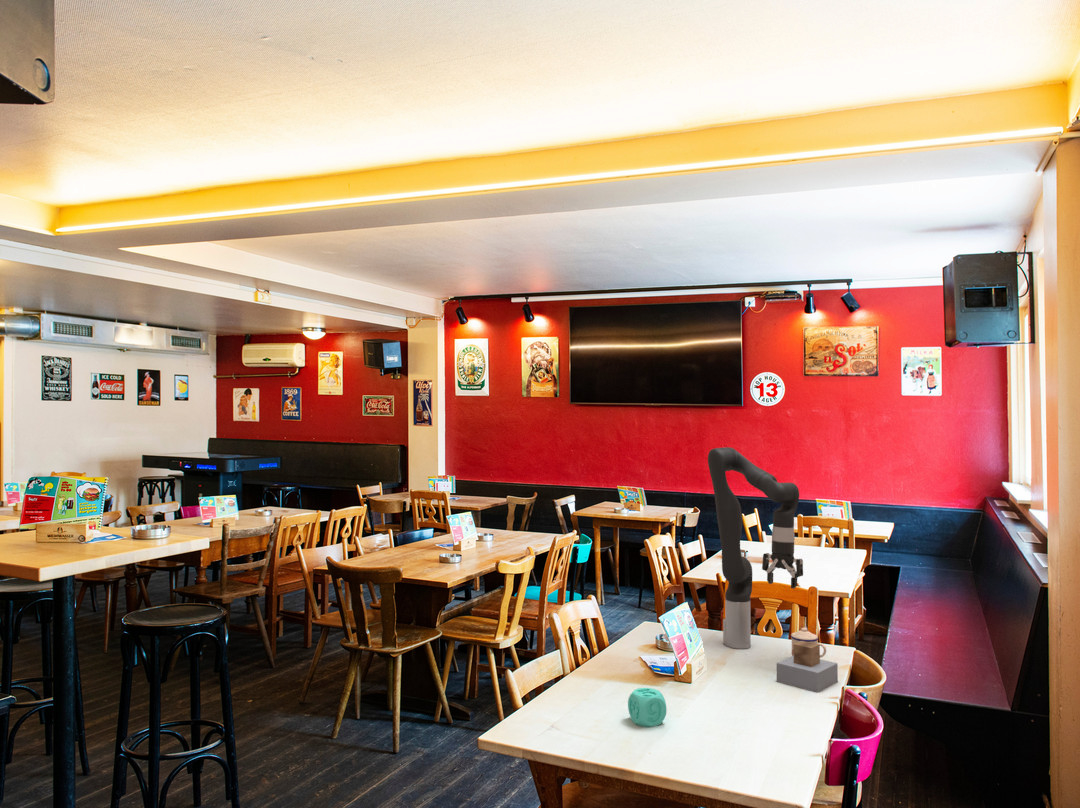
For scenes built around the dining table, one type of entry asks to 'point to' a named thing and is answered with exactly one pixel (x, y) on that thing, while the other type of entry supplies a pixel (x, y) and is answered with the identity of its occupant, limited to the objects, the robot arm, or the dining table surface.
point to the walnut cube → (806, 653)
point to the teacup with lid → (805, 639)
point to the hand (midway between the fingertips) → (781, 585)
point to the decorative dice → (647, 707)
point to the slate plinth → (807, 674)
